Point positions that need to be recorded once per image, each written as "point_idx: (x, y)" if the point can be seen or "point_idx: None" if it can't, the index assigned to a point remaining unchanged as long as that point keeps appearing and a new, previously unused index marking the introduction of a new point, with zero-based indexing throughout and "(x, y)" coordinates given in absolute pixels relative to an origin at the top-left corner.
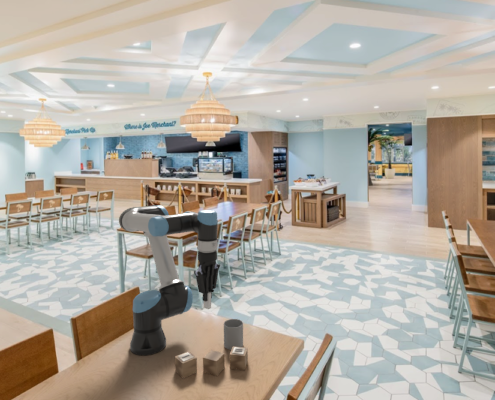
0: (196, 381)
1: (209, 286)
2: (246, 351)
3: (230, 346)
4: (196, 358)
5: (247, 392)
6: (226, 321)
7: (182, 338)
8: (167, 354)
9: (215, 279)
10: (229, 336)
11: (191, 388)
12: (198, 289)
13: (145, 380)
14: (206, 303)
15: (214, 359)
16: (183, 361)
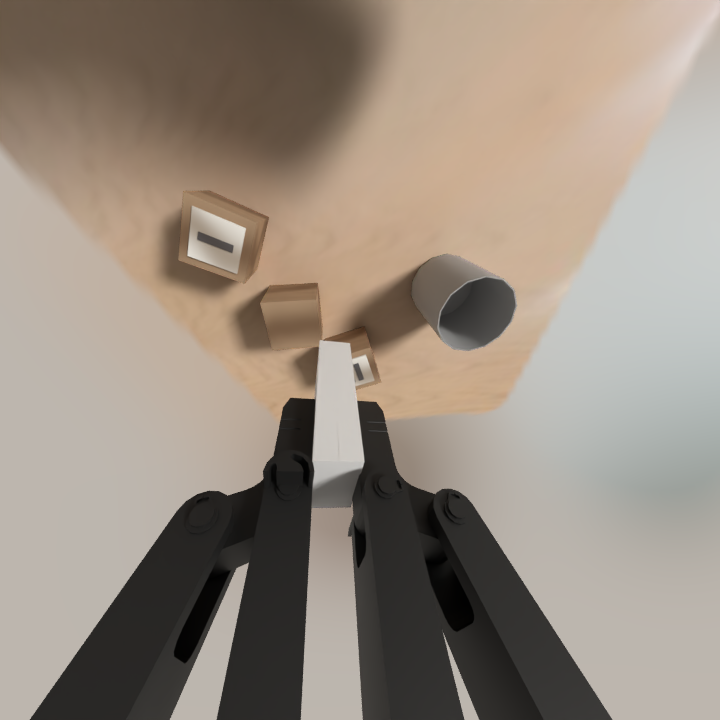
0: (224, 294)
1: (360, 581)
2: (364, 385)
3: (414, 296)
4: (243, 282)
5: (274, 405)
6: (493, 277)
7: (432, 5)
8: (269, 42)
9: (486, 714)
10: (425, 306)
11: (192, 301)
12: (144, 561)
13: (71, 103)
14: (315, 394)
15: (275, 340)
16: (188, 255)
